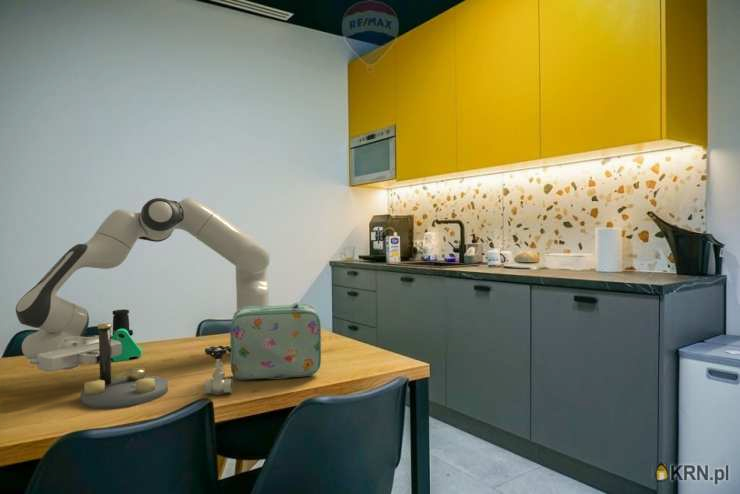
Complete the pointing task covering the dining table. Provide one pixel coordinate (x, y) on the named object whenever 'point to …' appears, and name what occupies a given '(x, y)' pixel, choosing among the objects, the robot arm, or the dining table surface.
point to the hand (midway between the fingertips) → (100, 358)
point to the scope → (121, 322)
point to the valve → (218, 373)
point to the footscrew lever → (106, 359)
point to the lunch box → (275, 342)
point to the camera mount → (126, 346)
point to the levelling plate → (122, 392)
